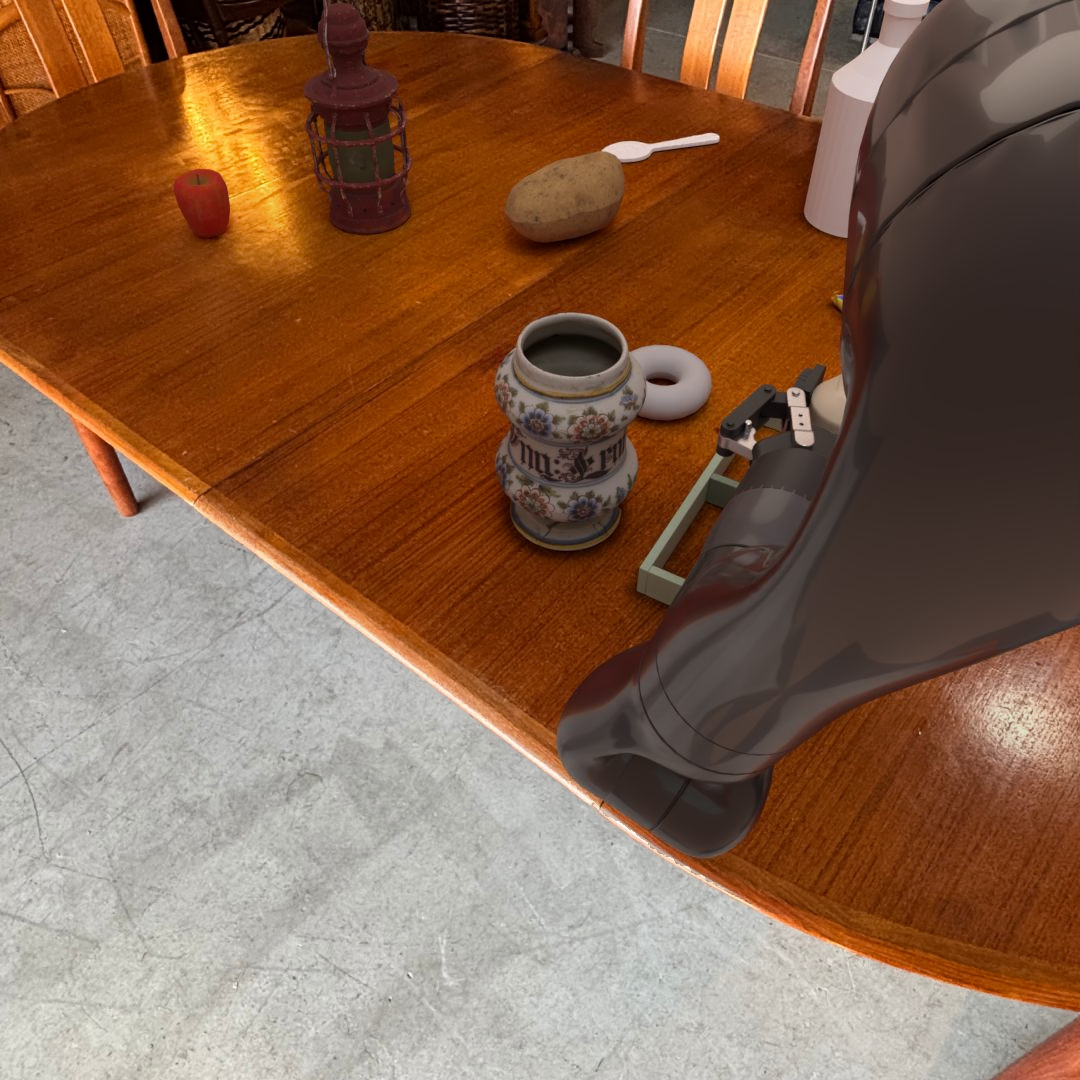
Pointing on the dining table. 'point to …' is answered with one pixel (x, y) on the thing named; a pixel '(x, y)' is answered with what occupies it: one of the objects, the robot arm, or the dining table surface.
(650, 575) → the organizer
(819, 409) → the candle
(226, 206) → the apple
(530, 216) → the potato
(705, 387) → the donut
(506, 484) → the apothecary jar
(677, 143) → the spoon
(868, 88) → the bottle
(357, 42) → the lantern
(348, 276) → the dining table surface
